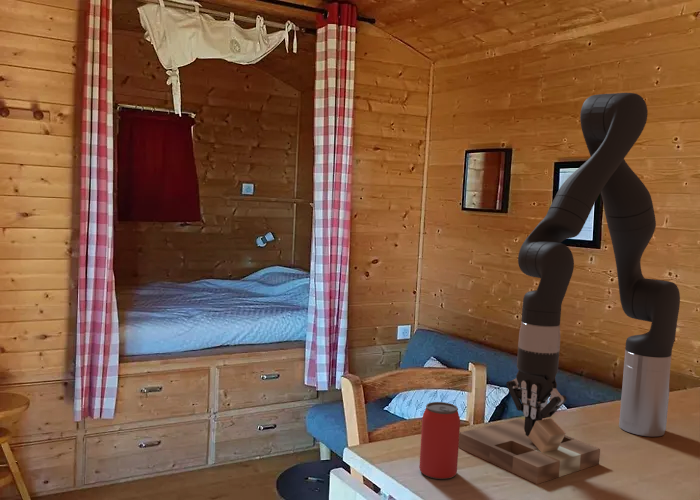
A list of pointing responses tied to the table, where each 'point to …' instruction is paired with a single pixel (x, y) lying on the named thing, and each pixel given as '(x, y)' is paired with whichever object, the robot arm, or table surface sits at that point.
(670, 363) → the robot arm
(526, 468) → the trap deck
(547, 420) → the maple block
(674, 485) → the table surface
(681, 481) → the table surface
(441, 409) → the beer can
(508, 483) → the table surface
